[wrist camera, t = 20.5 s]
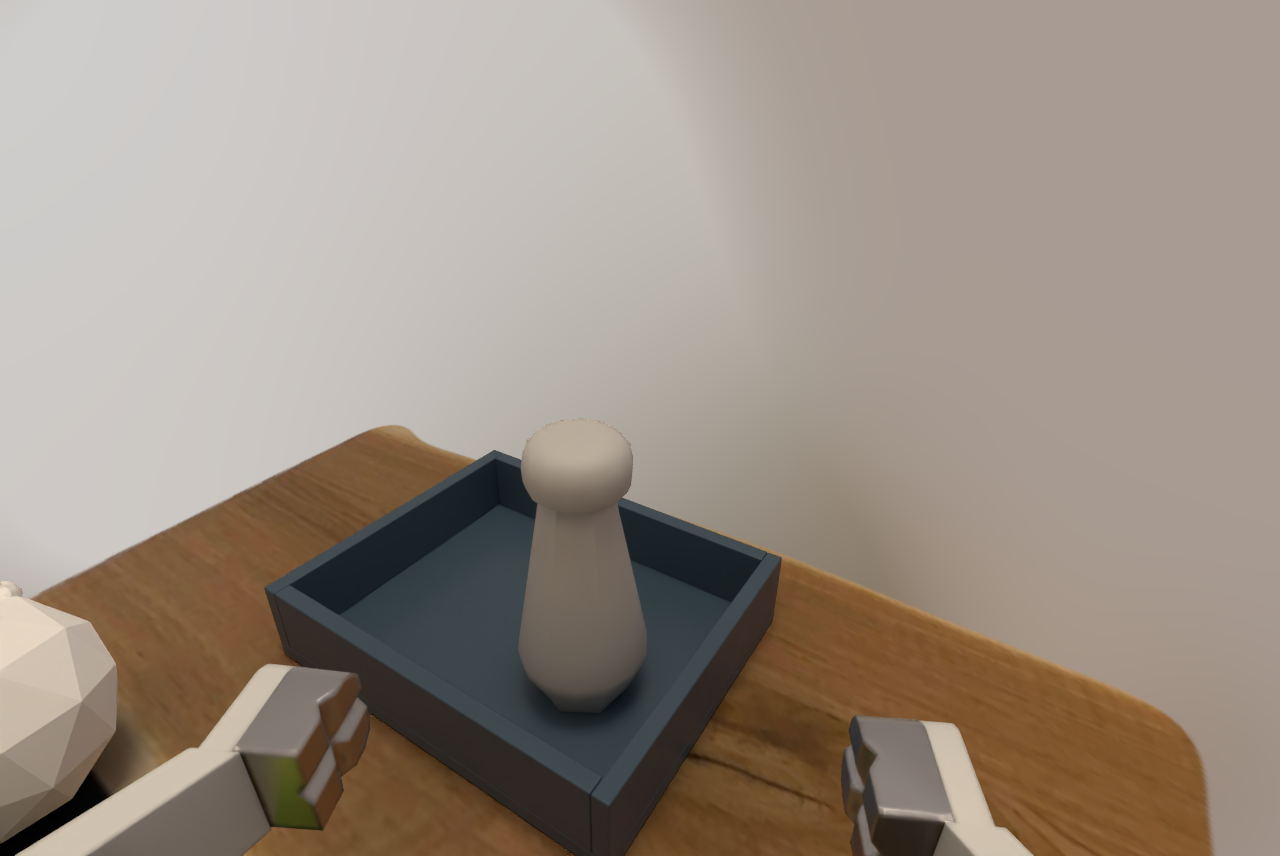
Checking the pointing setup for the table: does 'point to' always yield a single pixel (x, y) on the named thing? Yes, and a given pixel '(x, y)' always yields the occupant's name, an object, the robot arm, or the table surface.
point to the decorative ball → (49, 707)
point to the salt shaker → (580, 568)
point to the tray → (490, 662)
